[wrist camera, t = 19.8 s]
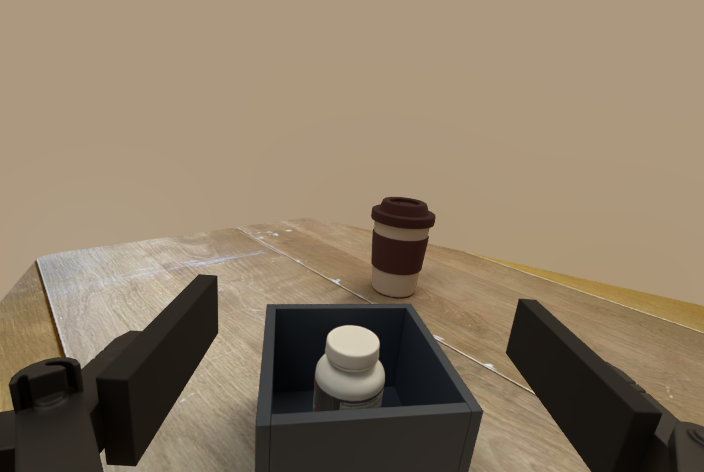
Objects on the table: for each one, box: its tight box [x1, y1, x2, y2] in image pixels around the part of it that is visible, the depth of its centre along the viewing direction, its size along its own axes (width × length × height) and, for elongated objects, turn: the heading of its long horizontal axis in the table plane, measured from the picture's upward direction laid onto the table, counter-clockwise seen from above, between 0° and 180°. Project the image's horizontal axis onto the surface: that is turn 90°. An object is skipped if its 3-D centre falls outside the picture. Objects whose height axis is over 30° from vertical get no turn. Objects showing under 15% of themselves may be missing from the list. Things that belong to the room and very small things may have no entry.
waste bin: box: [255, 304, 483, 472], centre depth 29 cm, size 14×14×10 cm
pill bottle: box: [313, 325, 385, 412], centre depth 28 cm, size 5×5×10 cm
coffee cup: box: [371, 197, 435, 297], centre depth 58 cm, size 10×10×15 cm
